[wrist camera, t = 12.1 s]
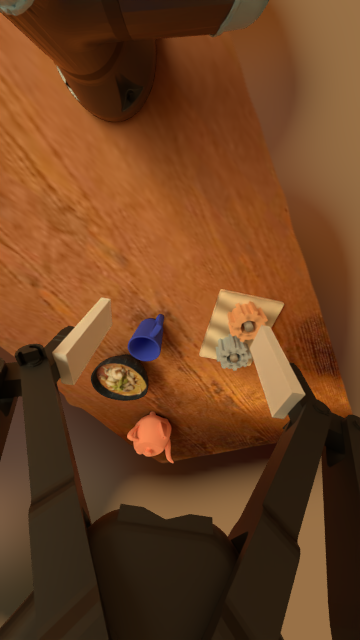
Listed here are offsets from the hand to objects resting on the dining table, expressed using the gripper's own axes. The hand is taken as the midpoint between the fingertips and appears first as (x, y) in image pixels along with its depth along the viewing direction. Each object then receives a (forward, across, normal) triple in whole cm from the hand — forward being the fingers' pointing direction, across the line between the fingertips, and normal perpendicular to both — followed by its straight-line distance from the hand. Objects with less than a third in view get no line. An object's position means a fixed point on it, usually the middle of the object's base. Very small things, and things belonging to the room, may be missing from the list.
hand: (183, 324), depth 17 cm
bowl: (+30, -14, -42) cm, 53 cm away
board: (+30, +17, -21) cm, 40 cm away
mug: (+31, -6, -23) cm, 39 cm away
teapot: (+29, -1, -73) cm, 79 cm away
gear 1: (+29, +17, -15) cm, 37 cm away
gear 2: (+29, +16, -26) cm, 42 cm away
